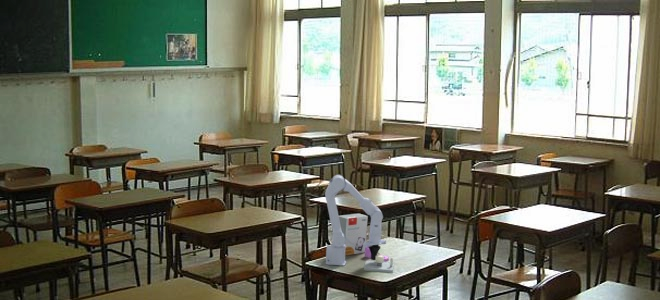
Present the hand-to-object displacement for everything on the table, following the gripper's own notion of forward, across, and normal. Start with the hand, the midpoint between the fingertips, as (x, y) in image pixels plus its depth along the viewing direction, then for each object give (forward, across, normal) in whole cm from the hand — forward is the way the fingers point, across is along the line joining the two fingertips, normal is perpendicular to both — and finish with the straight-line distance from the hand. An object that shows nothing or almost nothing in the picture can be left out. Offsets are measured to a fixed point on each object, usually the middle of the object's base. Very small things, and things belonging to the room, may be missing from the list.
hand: (373, 259), depth 404 cm
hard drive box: (+3, +7, +24) cm, 25 cm away
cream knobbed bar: (0, 0, -3) cm, 3 cm away
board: (+2, -2, -6) cm, 6 cm away
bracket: (+3, +11, +8) cm, 14 cm away
